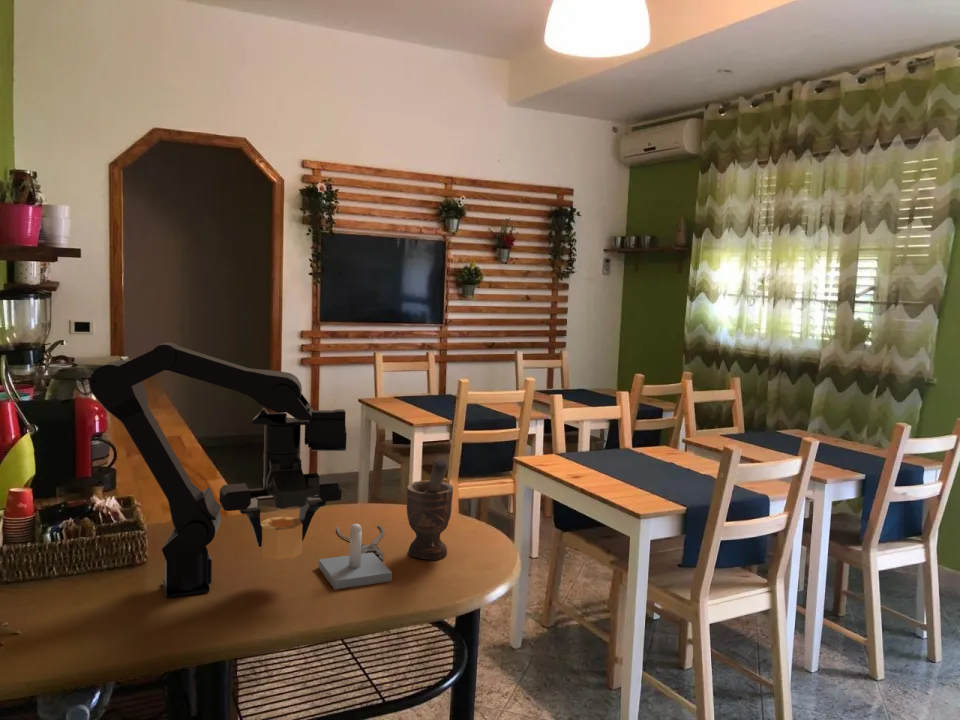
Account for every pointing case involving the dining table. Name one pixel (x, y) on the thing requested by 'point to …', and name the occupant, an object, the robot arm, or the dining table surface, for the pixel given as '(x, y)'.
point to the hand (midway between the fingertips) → (280, 543)
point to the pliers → (372, 546)
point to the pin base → (353, 574)
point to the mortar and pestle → (429, 512)
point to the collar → (281, 538)
